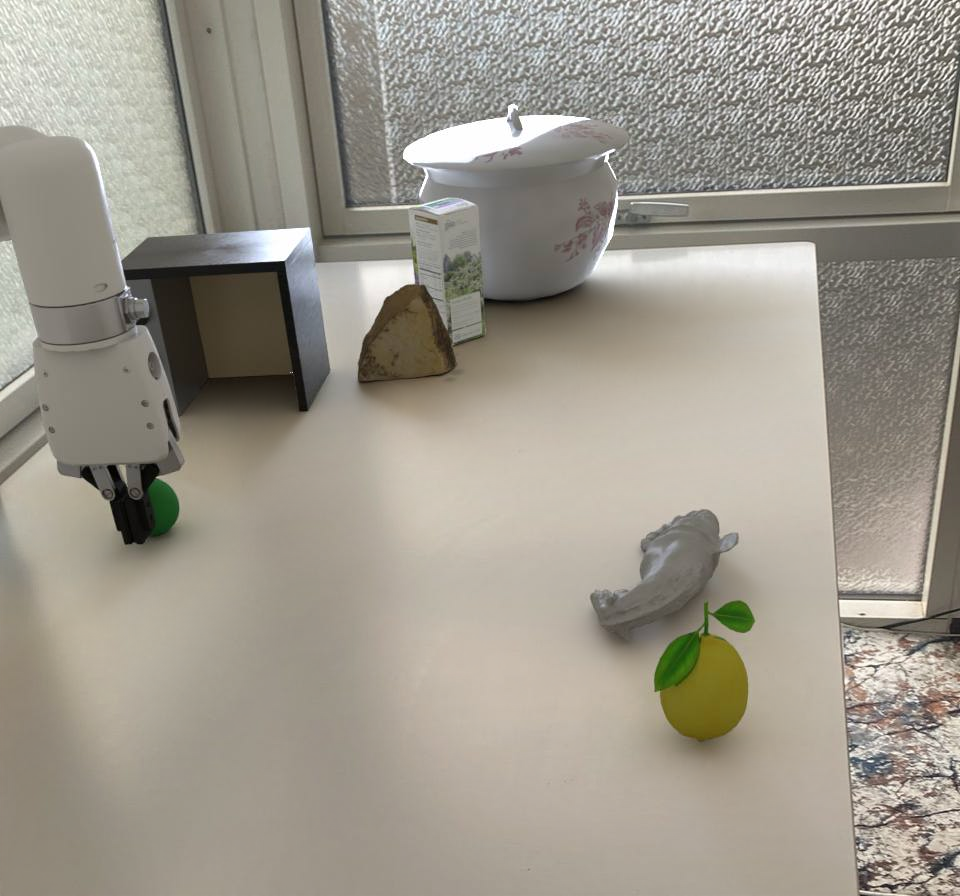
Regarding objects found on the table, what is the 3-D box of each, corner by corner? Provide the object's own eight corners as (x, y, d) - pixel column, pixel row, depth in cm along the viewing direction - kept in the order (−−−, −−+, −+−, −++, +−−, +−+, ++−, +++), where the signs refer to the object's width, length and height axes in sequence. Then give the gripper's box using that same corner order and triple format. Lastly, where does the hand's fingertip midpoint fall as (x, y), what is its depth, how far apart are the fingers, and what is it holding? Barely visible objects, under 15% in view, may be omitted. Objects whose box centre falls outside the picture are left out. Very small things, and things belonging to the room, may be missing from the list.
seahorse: (591, 522, 111) (572, 603, 94) (725, 471, 107) (730, 546, 90) (613, 578, 113) (598, 667, 96) (745, 530, 110) (754, 614, 92)
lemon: (749, 711, 88) (757, 574, 82) (761, 761, 84) (770, 619, 78) (648, 716, 89) (648, 580, 83) (654, 766, 84) (654, 625, 78)
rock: (334, 370, 143) (417, 361, 139) (338, 290, 143) (421, 279, 139) (382, 402, 153) (461, 395, 149) (386, 327, 153) (465, 318, 149)
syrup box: (456, 326, 160) (445, 195, 151) (488, 336, 156) (478, 201, 147) (419, 339, 157) (405, 205, 148) (450, 348, 153) (438, 212, 145)
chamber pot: (520, 333, 156) (508, 136, 143) (373, 296, 173) (352, 116, 160) (678, 274, 170) (680, 90, 157) (528, 245, 187) (519, 76, 174)
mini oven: (141, 421, 142) (106, 273, 133) (177, 376, 153) (147, 237, 144) (306, 414, 140) (282, 263, 131) (330, 369, 151) (310, 227, 142)
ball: (119, 544, 117) (107, 488, 114) (137, 524, 121) (126, 470, 118) (174, 543, 116) (164, 487, 114) (190, 523, 121) (180, 468, 118)
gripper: (189, 299, 106) (234, 517, 117) (11, 308, 107) (71, 522, 119) (162, 328, 100) (211, 555, 111) (-26, 338, 102) (41, 559, 113)
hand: (139, 537), depth 115 cm, fingers closed
